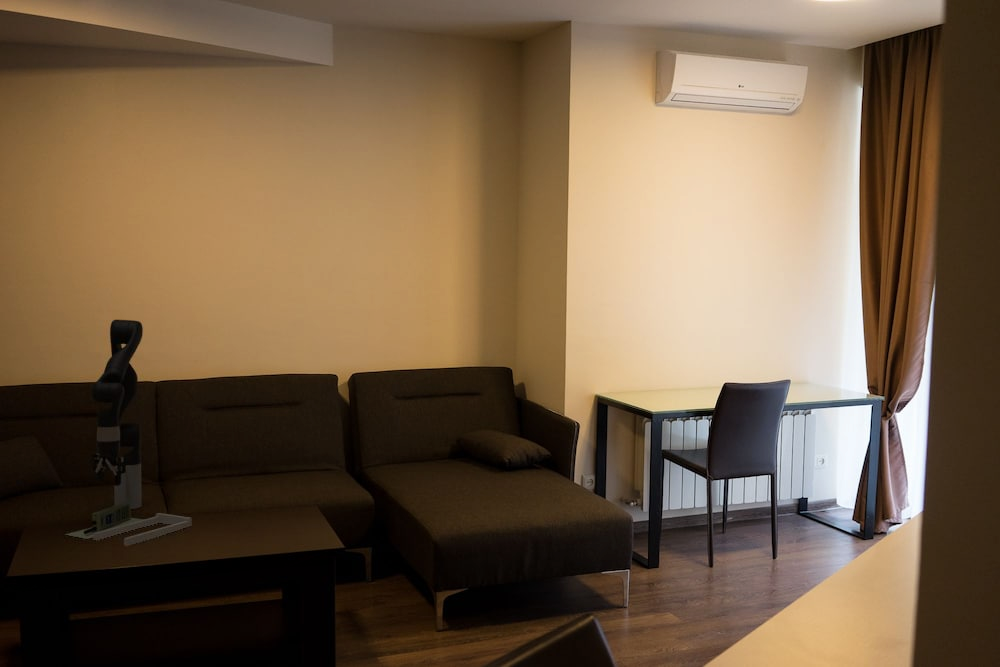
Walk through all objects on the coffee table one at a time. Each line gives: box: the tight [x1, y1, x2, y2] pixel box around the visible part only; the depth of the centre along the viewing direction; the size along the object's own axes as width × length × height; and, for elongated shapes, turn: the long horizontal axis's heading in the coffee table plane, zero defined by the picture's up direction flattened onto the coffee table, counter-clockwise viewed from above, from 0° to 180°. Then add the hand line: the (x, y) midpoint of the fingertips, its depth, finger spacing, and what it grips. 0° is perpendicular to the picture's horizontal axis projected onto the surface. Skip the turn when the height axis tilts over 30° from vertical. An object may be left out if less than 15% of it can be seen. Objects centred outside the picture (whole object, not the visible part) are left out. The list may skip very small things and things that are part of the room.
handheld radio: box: [84, 502, 132, 534], centre depth 324 cm, size 7×3×25 cm
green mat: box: [64, 517, 144, 540], centre depth 324 cm, size 11×28×1 cm, turn 154°
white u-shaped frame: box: [92, 512, 193, 547], centre depth 318 cm, size 16×28×4 cm, turn 154°
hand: (108, 484), depth 324 cm, fingers open, 8 cm apart
